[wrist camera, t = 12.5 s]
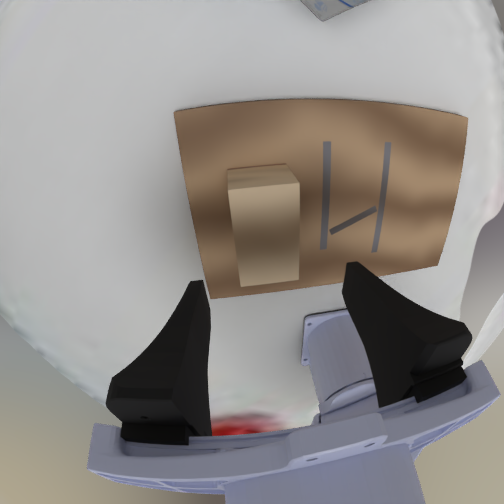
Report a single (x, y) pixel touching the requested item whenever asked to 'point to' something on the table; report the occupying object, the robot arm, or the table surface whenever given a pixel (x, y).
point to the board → (327, 182)
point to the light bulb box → (331, 7)
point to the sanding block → (265, 223)
